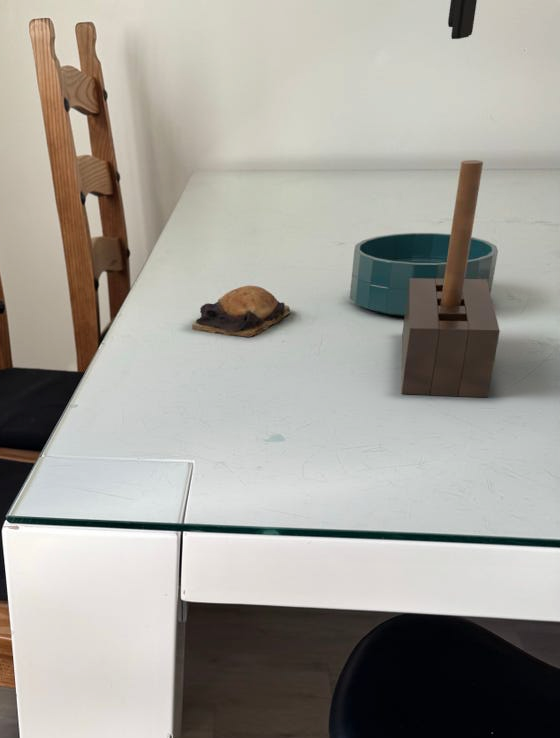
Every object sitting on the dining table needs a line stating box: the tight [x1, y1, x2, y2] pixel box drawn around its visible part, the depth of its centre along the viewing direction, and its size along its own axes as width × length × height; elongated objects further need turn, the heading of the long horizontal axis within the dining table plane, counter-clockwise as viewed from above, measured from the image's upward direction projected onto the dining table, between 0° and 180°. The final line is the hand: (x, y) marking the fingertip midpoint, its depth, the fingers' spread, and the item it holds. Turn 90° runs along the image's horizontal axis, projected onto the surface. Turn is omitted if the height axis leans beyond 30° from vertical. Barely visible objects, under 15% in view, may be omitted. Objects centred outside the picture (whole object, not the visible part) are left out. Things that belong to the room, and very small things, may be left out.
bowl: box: [349, 232, 499, 318], centre depth 113 cm, size 15×15×6 cm
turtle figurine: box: [191, 285, 291, 338], centre depth 111 cm, size 11×8×4 cm
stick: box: [440, 159, 484, 306], centre depth 92 cm, size 2×2×18 cm
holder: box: [400, 278, 501, 398], centre depth 95 cm, size 7×17×6 cm, turn 165°
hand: (520, 36), depth 81 cm, fingers open, 9 cm apart
